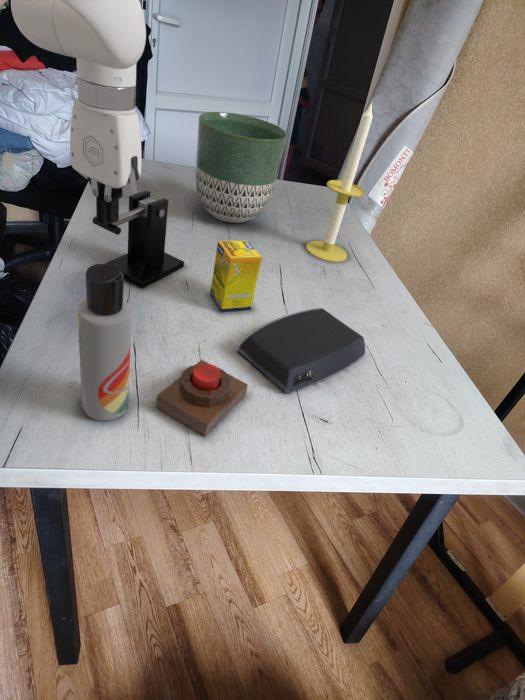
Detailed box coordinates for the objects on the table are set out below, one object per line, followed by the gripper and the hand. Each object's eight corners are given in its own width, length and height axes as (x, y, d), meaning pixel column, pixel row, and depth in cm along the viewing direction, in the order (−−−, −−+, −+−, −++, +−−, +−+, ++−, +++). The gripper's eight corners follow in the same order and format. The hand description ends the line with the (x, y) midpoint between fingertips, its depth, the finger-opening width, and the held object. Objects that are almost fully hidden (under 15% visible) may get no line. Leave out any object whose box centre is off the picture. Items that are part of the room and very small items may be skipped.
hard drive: (232, 348, 76) (236, 328, 74) (313, 318, 88) (319, 299, 86) (288, 398, 70) (295, 377, 67) (367, 358, 82) (375, 339, 79)
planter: (183, 226, 108) (192, 126, 95) (195, 196, 124) (205, 106, 111) (267, 242, 110) (288, 146, 97) (268, 210, 125) (286, 124, 113)
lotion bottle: (136, 411, 62) (143, 277, 50) (94, 428, 58) (91, 288, 47) (115, 385, 65) (116, 252, 53) (74, 399, 61) (66, 261, 49)
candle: (352, 252, 115) (402, 106, 96) (338, 266, 107) (389, 111, 88) (315, 237, 118) (356, 92, 98) (299, 250, 110) (340, 95, 91)
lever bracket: (142, 288, 85) (146, 215, 77) (104, 269, 87) (103, 196, 79) (183, 266, 94) (191, 199, 86) (147, 249, 96) (151, 182, 88)
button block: (205, 437, 61) (209, 415, 58) (155, 407, 63) (157, 385, 61) (245, 395, 68) (250, 374, 66) (200, 370, 71) (203, 349, 68)
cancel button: (208, 395, 62) (210, 385, 61) (186, 382, 63) (187, 372, 62) (224, 381, 64) (226, 371, 63) (202, 369, 65) (203, 359, 64)
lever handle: (116, 239, 76) (115, 225, 74) (92, 228, 77) (91, 214, 76) (164, 216, 84) (165, 203, 83) (142, 206, 86) (142, 193, 84)
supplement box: (208, 294, 88) (217, 240, 81) (238, 292, 90) (248, 239, 84) (220, 313, 84) (229, 257, 77) (251, 310, 86) (263, 256, 80)
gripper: (45, 81, 65) (54, 210, 76) (130, 114, 60) (127, 246, 71) (87, 79, 70) (90, 200, 81) (168, 109, 66) (160, 232, 77)
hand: (107, 221), depth 76 cm, fingers closed
